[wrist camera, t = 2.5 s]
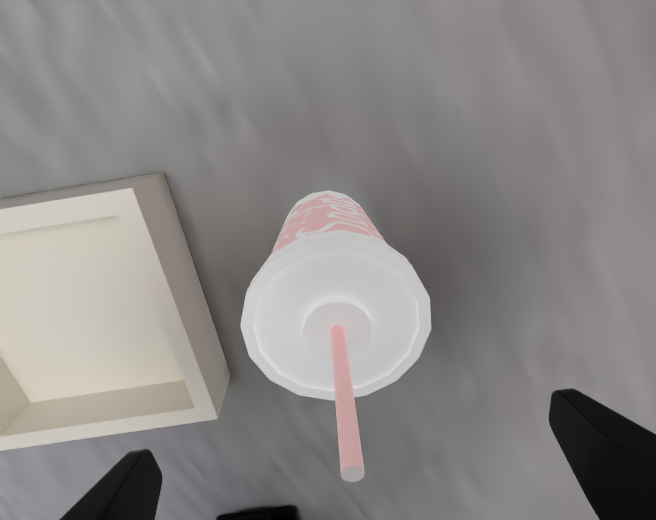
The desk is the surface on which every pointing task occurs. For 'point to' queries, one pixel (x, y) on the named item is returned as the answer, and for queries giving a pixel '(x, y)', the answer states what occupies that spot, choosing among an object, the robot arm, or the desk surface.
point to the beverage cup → (335, 312)
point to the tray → (102, 316)
